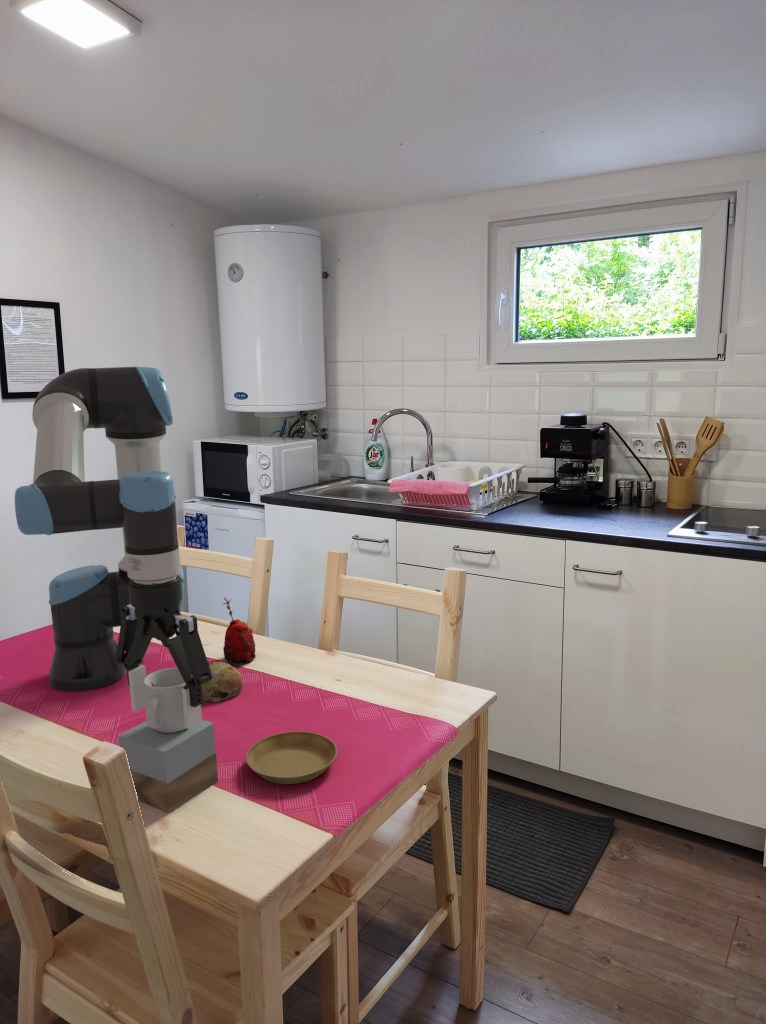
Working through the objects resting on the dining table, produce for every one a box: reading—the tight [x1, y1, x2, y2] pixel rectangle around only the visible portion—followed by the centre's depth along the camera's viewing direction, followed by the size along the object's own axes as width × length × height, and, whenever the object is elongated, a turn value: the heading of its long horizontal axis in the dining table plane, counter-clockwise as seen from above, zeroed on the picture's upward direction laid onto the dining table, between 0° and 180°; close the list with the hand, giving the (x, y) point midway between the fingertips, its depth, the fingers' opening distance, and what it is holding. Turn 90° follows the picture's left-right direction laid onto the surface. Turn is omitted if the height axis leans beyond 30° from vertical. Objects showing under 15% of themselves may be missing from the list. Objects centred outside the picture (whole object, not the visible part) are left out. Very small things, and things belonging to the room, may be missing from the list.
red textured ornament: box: [222, 597, 256, 664], centre depth 164 cm, size 8×7×15 cm
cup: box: [143, 667, 193, 733], centre depth 113 cm, size 11×8×8 cm
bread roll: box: [202, 661, 244, 703], centre depth 149 cm, size 10×10×8 cm
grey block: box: [117, 719, 217, 784], centre depth 114 cm, size 10×10×5 cm
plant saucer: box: [245, 730, 338, 785], centre depth 121 cm, size 15×15×3 cm
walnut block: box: [130, 752, 219, 815], centre depth 115 cm, size 10×10×5 cm
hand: (166, 715), depth 113 cm, fingers open, 11 cm apart
